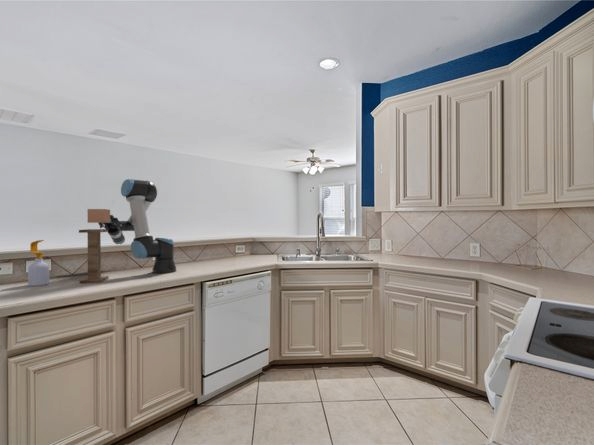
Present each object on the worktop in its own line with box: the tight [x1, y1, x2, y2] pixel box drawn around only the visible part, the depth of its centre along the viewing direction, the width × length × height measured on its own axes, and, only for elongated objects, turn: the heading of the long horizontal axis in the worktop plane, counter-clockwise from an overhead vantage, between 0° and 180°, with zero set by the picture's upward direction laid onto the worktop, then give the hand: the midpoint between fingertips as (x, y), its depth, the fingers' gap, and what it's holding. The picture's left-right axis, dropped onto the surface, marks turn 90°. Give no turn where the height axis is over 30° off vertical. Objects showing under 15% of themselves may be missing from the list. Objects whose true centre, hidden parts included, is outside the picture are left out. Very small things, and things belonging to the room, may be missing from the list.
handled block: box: [87, 208, 114, 224], centre depth 200 cm, size 24×9×8 cm, turn 14°
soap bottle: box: [27, 239, 50, 287], centre depth 176 cm, size 9×9×25 cm
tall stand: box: [78, 228, 109, 284], centre depth 186 cm, size 12×11×30 cm
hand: (103, 213), depth 201 cm, fingers closed on handled block, 4 cm apart
